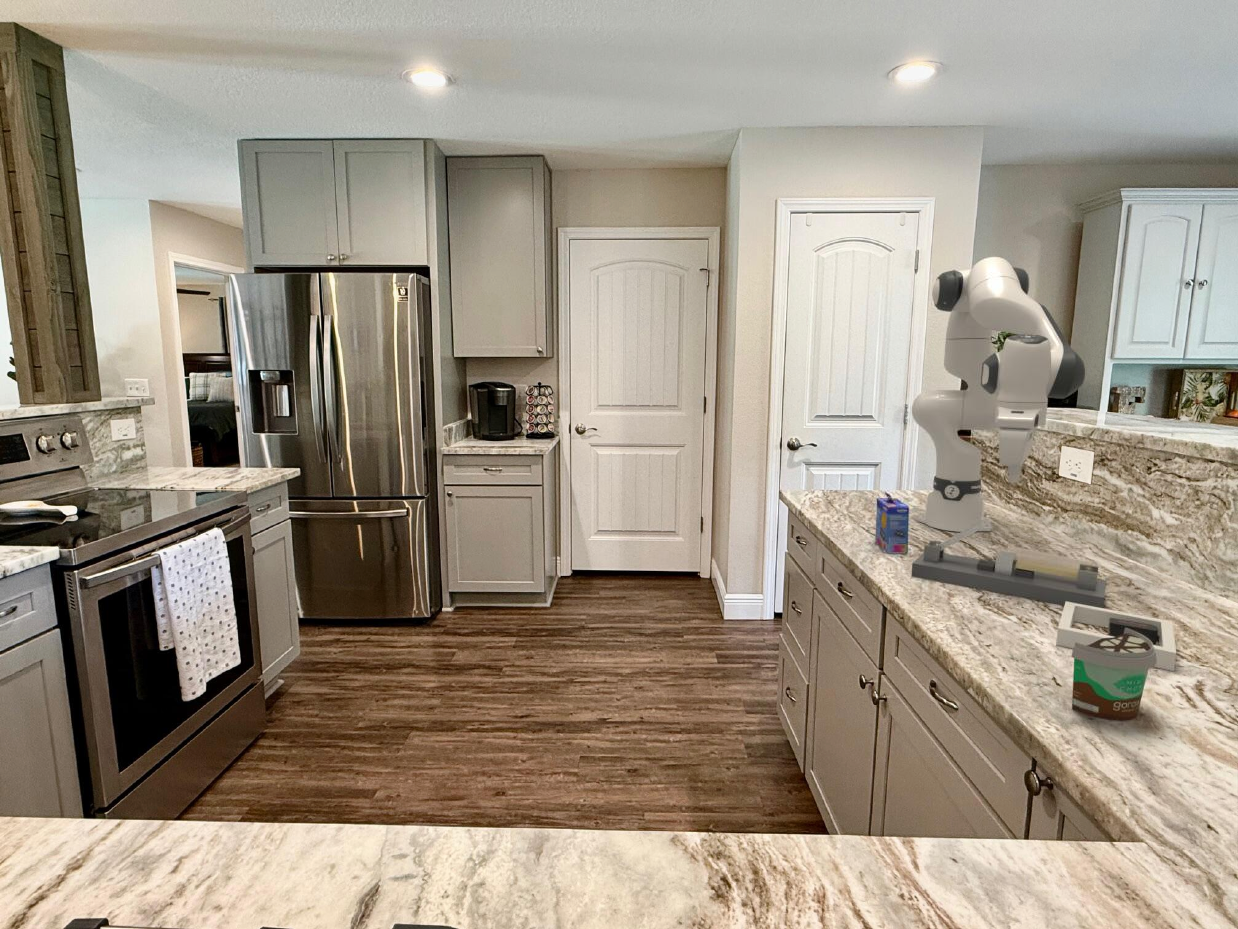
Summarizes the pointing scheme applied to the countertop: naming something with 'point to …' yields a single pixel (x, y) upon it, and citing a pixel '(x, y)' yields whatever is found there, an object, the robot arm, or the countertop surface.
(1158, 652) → the white square frame
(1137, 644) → the food container
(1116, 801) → the countertop surface
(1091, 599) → the lug board
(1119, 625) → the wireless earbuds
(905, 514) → the ink cartridge box
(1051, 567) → the brass strap
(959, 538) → the steel strap
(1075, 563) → the washcloth
